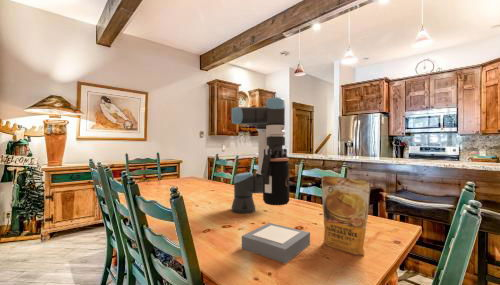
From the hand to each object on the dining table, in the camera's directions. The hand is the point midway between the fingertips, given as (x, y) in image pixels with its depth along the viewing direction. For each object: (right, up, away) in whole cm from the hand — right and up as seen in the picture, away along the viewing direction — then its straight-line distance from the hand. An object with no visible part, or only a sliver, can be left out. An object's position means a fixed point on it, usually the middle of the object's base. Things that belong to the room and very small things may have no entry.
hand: (276, 190), depth 96 cm
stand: (0, -23, 0) cm, 23 cm away
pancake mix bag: (+27, -23, -2) cm, 35 cm away
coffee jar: (0, -5, 0) cm, 5 cm away
